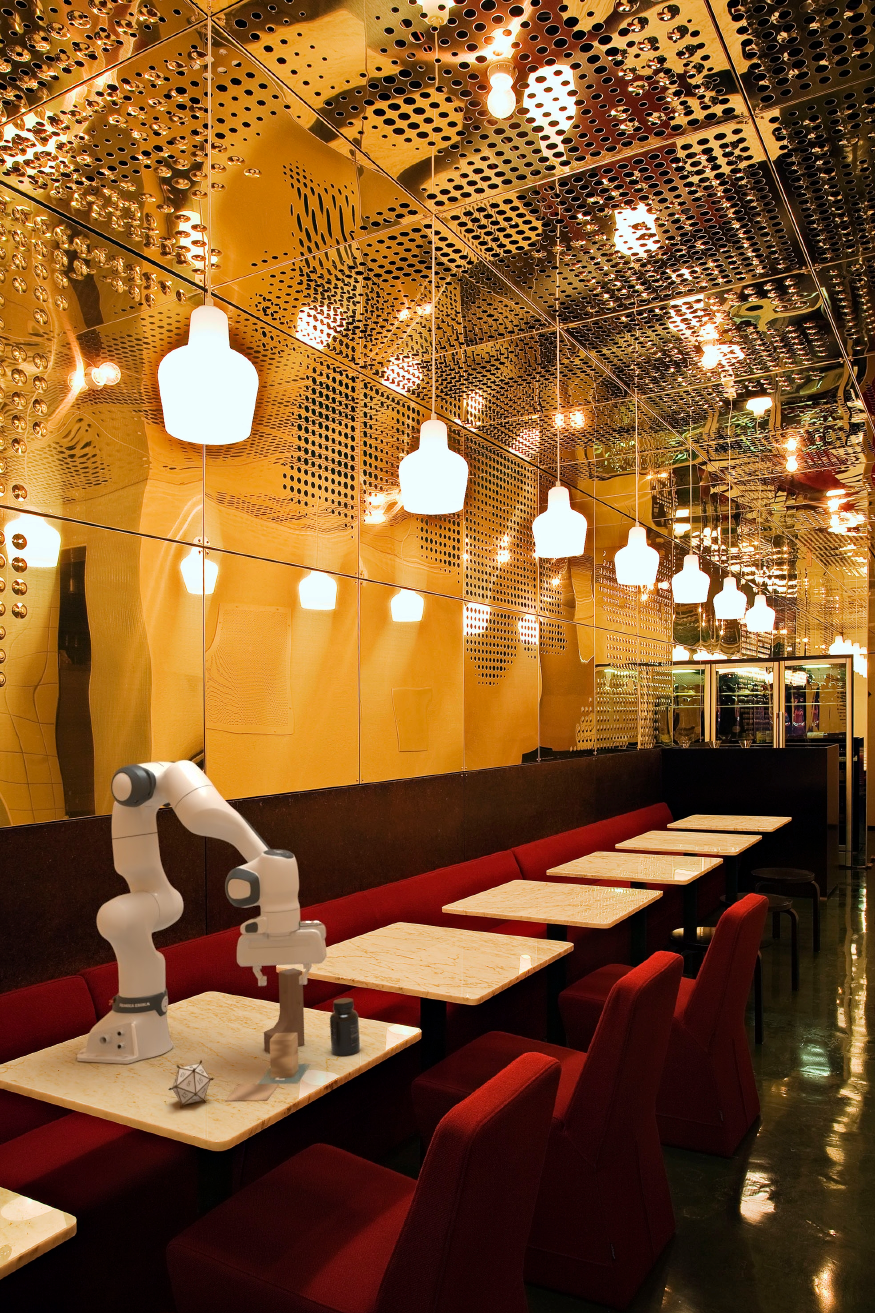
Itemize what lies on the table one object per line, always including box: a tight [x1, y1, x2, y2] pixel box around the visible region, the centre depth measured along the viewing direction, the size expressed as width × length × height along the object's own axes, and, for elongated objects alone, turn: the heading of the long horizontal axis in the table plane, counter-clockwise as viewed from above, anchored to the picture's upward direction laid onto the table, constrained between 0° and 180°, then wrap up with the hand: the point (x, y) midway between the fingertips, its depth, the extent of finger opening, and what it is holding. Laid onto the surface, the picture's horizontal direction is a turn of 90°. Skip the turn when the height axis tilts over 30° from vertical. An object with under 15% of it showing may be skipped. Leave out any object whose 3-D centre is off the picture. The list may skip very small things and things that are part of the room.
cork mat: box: [224, 1083, 280, 1103], centre depth 184 cm, size 9×9×1 cm
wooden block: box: [263, 967, 305, 1054], centre depth 214 cm, size 9×4×18 cm, turn 129°
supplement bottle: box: [329, 997, 361, 1057], centre depth 208 cm, size 7×7×12 cm
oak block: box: [269, 1033, 299, 1078], centre depth 195 cm, size 5×5×8 cm
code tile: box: [257, 1063, 311, 1085], centre depth 195 cm, size 9×12×1 cm
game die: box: [167, 1059, 215, 1109], centre depth 181 cm, size 9×8×10 cm
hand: (282, 985), depth 197 cm, fingers open, 8 cm apart
